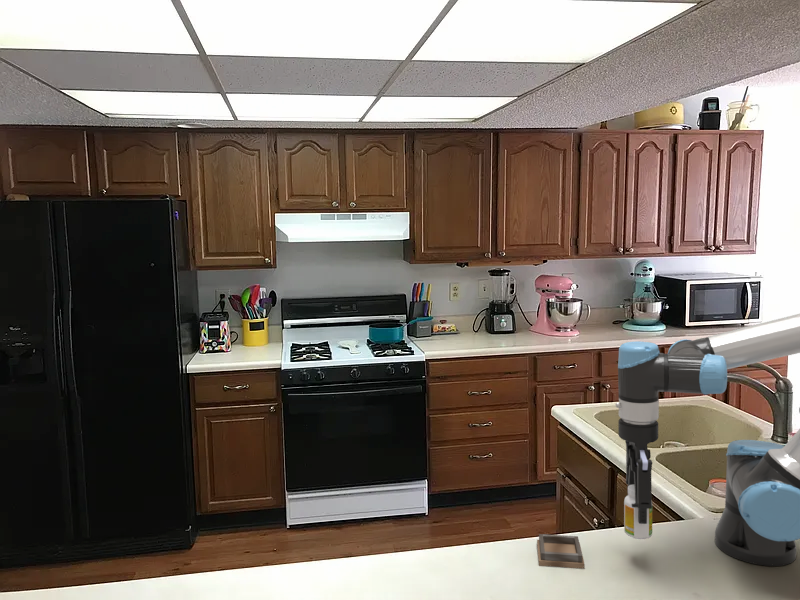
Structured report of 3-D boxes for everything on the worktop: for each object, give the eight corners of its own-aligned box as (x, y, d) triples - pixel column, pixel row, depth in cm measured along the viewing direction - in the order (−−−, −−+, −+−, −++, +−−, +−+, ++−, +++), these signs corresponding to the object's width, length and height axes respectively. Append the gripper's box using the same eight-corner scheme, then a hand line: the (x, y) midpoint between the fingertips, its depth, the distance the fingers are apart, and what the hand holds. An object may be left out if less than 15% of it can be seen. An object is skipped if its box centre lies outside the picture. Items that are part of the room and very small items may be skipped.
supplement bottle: (654, 540, 126) (654, 494, 125) (626, 539, 128) (626, 492, 126) (649, 528, 132) (649, 483, 131) (622, 526, 133) (622, 482, 132)
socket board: (579, 546, 137) (579, 535, 137) (584, 568, 128) (584, 556, 128) (537, 543, 139) (537, 533, 138) (539, 565, 130) (539, 554, 130)
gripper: (611, 406, 137) (611, 509, 139) (627, 433, 119) (627, 551, 121) (647, 406, 135) (647, 510, 138) (669, 434, 117) (668, 553, 120)
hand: (638, 529), depth 130 cm, fingers closed on supplement bottle, 5 cm apart
